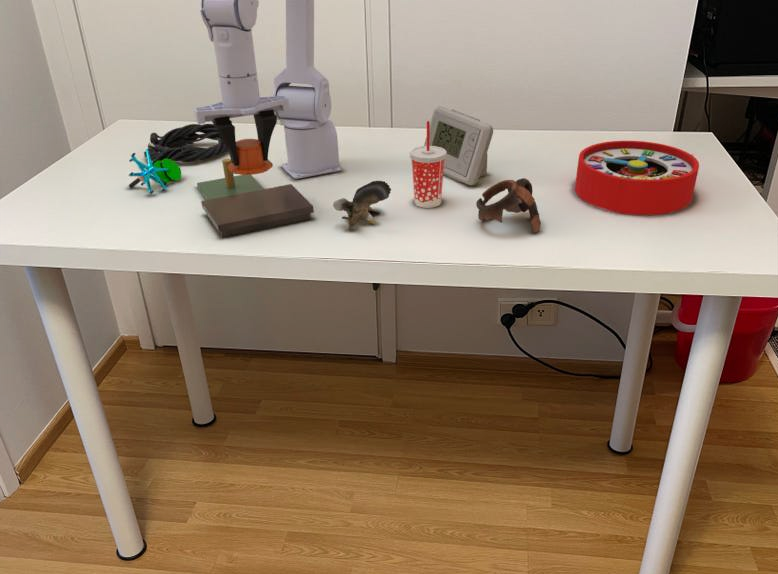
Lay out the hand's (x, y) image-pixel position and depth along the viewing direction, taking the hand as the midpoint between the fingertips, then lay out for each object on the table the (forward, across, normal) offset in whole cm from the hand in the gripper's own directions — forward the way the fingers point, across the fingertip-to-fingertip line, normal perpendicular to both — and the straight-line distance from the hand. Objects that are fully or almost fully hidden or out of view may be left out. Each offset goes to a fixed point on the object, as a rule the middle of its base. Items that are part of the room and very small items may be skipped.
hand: (249, 161), depth 120 cm
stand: (+10, 0, 0) cm, 10 cm away
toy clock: (+10, +62, -21) cm, 66 cm away
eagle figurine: (+10, +15, -10) cm, 21 cm away
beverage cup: (+10, +28, -8) cm, 31 cm away
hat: (+1, 0, 0) cm, 1 cm away
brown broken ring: (+10, +36, -22) cm, 44 cm away
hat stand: (+10, -1, +12) cm, 16 cm away
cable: (+10, -3, +36) cm, 38 cm away
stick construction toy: (+10, -13, +22) cm, 28 cm away
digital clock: (+10, +39, +2) cm, 40 cm away
